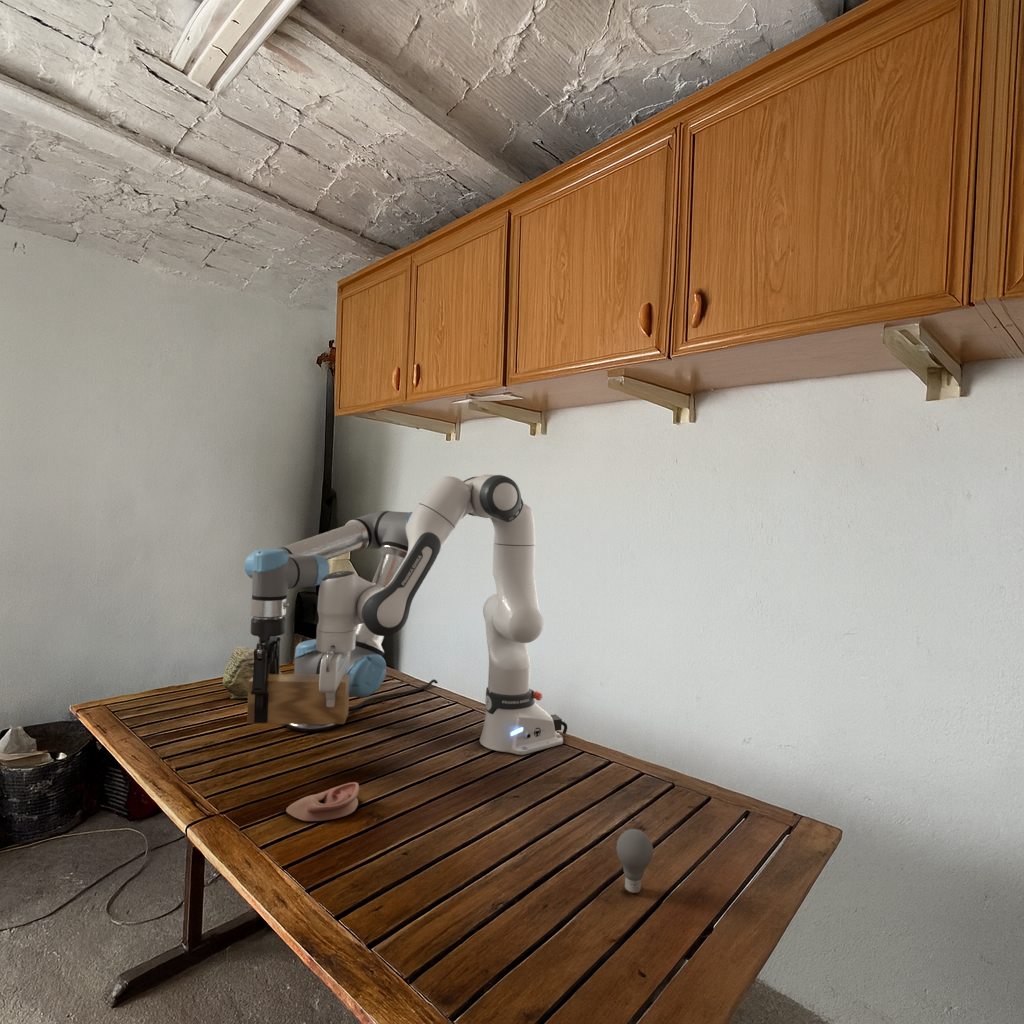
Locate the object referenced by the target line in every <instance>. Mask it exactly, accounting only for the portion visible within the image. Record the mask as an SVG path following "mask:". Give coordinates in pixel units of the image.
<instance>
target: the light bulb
mask: <svg viewBox="0 0 1024 1024" xmlns="http://www.w3.org/2000/svg"><path fill="white" fill-rule="evenodd" d="M615 849H616V854H617V857H618V859H619V861H620V863H621V865H622V867H623V873H624V874H623V875H624V876H625V878H624V888H625V890H627V891H628V892H630V893H634V894H635V893H639V892H640V891H641V889H642V887H641V886H642V879H643V877H644V875H645V871H646V868H647V867H648V866H649V864H650V863H651V861H652V859H653V855H654V847H653V843H652V841H651V838H649V836H648V835H647V834H646V833H645V832H643V831H642V830H641V829H636V828H629V829H627V830H625V831H623V832H622V833H621V834H620V835H619V837H618V839H617V841H616V847H615Z"/></svg>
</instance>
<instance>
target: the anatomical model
mask: <svg viewBox="0 0 1024 1024" xmlns="http://www.w3.org/2000/svg"><path fill="white" fill-rule="evenodd" d="M359 792H360V785H359V783H358V782H355V781H352V782H347V783H344V784H341V785H338V786H335V787H332V788H329V789H327V790H324V791H321V792H319V793H316V794H311V795H307V796H304V797H302V798H300V799H298V800H296V801H294V802H293V803H291V804H289V806H287V807H286V809H285V812H286V813H287V814H288V815H289V816H291V817H293V818H295V819H297V820H300V821H303V822H321V821H329V820H334V819H339V818H342V817H346V816H348V815H351V814H353V812H355V811H356V809H357V808H358V805H359V799H358V798H357V796H358V795H359Z"/></svg>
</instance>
